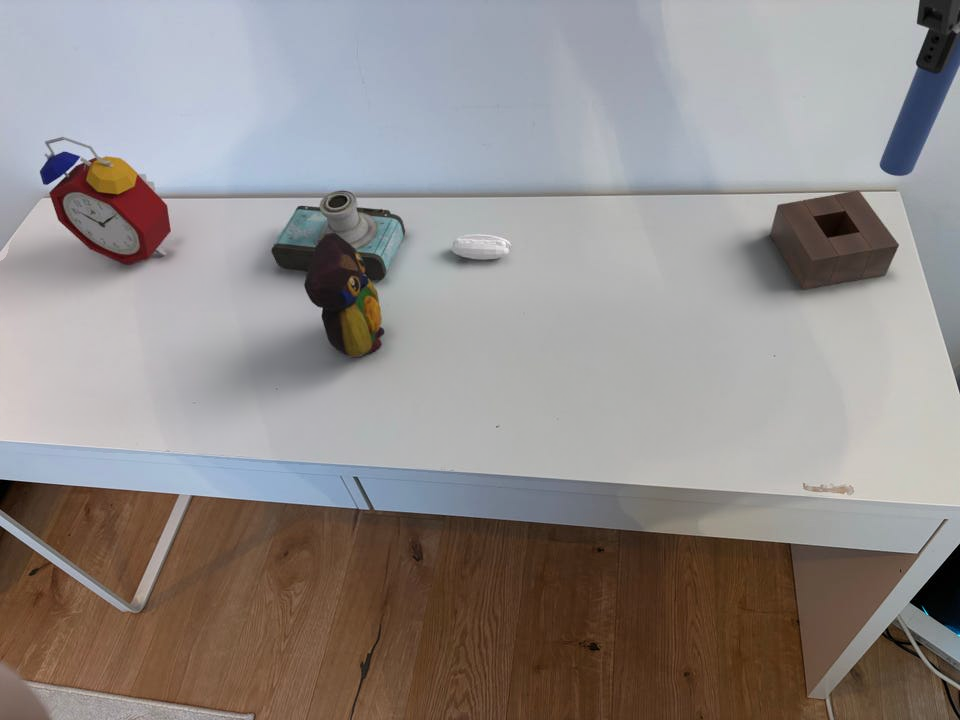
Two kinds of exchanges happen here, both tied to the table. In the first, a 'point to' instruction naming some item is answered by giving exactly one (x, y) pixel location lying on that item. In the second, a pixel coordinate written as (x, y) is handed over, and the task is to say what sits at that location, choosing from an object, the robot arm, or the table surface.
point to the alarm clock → (107, 205)
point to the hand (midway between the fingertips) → (942, 59)
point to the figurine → (344, 297)
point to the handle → (918, 116)
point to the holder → (832, 239)
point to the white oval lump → (480, 246)
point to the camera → (340, 233)
